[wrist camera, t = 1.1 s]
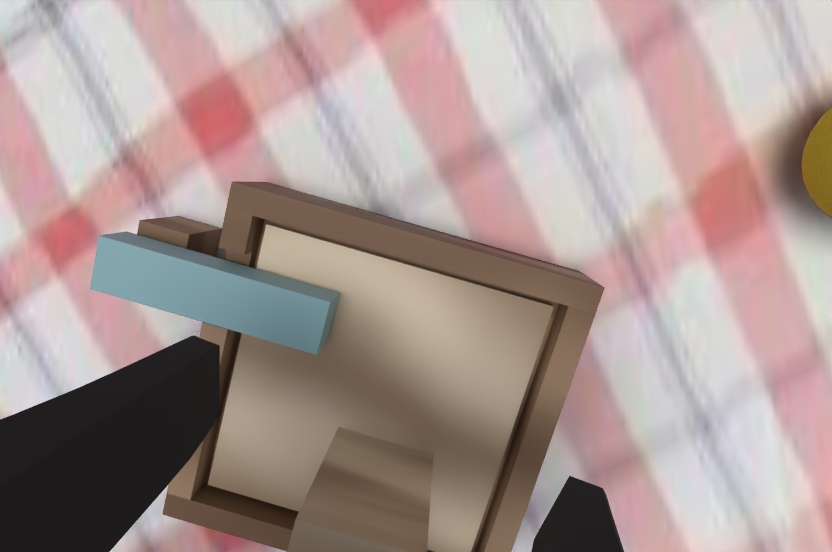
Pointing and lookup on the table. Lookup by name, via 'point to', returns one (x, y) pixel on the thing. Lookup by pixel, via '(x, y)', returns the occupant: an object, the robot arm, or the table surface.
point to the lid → (379, 402)
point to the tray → (410, 244)
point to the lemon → (819, 163)
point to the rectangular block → (214, 291)
